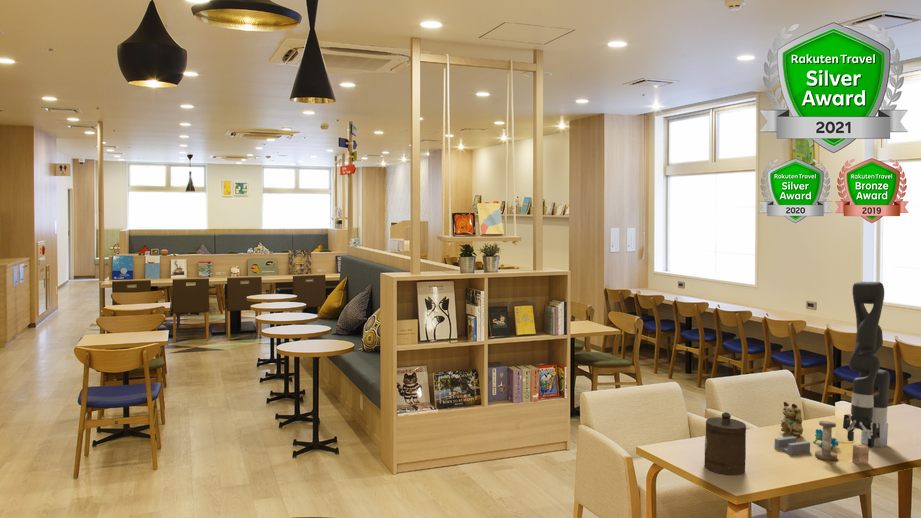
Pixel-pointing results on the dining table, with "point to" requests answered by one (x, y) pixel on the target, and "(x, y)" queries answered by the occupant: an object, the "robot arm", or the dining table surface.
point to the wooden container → (725, 445)
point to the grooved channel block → (792, 445)
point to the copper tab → (860, 454)
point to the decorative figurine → (791, 420)
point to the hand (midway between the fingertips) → (860, 444)
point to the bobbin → (826, 442)
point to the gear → (819, 437)
